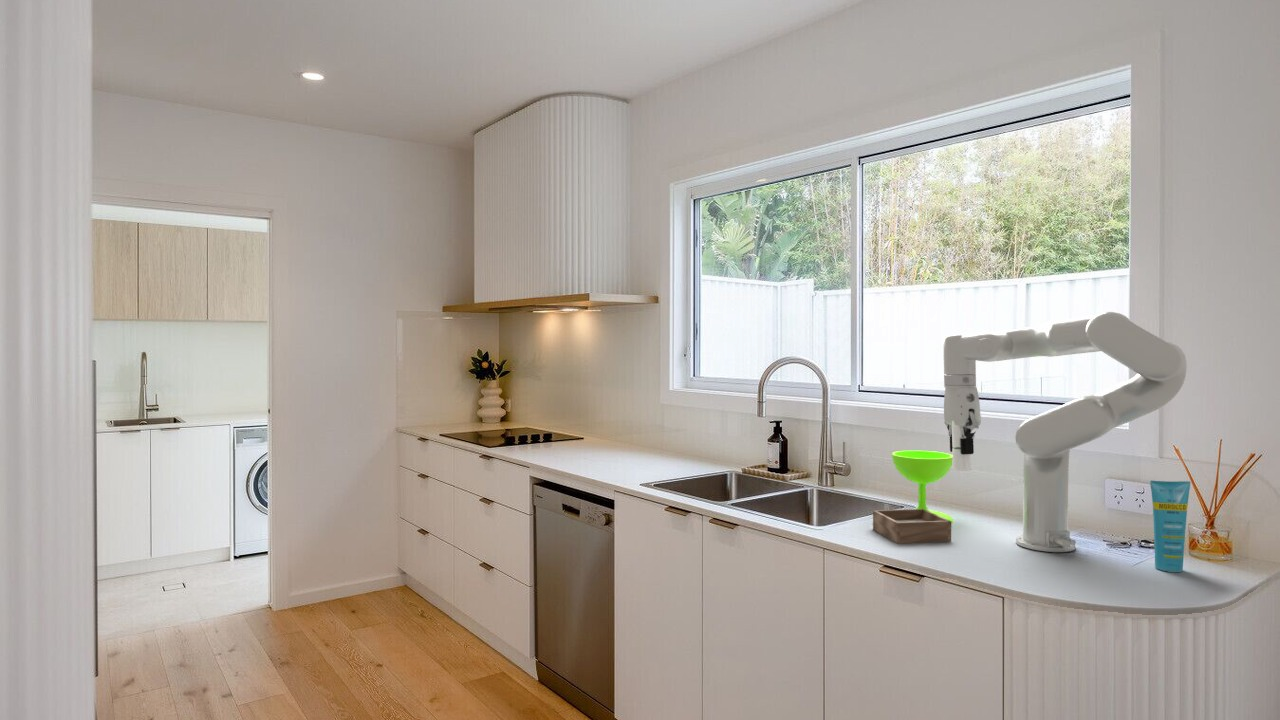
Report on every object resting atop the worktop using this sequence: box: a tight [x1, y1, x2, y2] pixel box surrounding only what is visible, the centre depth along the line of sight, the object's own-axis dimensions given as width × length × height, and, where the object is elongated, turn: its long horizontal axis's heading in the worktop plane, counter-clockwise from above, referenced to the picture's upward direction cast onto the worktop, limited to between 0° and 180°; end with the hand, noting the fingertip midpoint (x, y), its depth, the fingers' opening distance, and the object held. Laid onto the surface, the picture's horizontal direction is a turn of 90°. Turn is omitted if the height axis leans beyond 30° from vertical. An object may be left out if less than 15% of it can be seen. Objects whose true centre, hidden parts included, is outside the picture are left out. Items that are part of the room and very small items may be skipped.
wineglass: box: [891, 450, 954, 524], centre depth 208 cm, size 16×16×18 cm
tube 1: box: [951, 421, 972, 472], centre depth 191 cm, size 4×4×15 cm
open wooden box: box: [872, 508, 952, 544], centre depth 191 cm, size 14×14×5 cm
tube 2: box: [1149, 480, 1191, 573], centre depth 160 cm, size 7×5×19 cm, turn 81°
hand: (961, 452), depth 191 cm, fingers closed on tube 1, 4 cm apart
